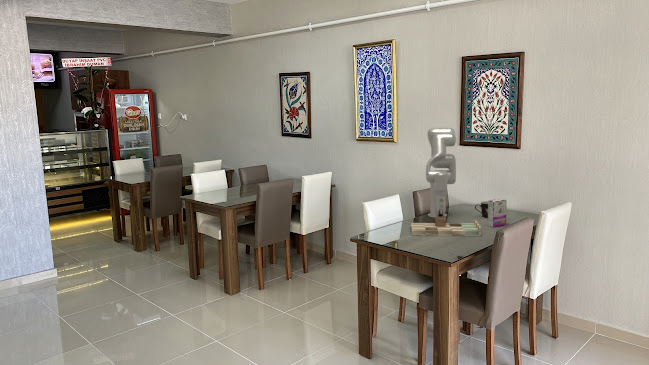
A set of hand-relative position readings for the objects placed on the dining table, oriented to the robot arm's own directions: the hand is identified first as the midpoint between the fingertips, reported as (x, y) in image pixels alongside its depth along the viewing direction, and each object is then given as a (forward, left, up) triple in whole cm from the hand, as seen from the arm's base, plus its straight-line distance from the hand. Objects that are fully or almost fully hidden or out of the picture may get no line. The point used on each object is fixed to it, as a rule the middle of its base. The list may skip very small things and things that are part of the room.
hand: (440, 221), depth 301 cm
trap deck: (+9, +1, -4) cm, 10 cm away
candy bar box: (-7, +35, -4) cm, 36 cm away
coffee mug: (-31, +32, -4) cm, 45 cm away
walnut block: (+6, 0, -1) cm, 6 cm away
